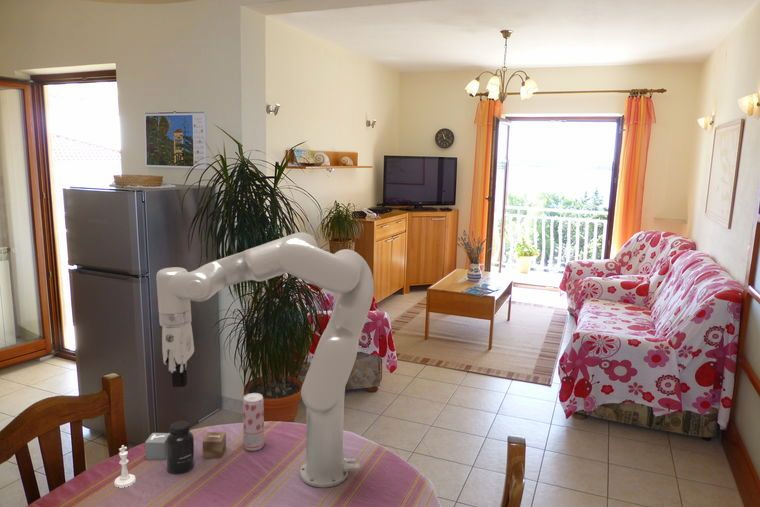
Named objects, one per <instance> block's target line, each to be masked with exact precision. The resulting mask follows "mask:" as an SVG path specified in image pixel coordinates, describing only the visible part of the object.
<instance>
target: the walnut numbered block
mask: <svg viewBox="0 0 760 507" xmlns="http://www.w3.org/2000/svg"><path fill="white" fill-rule="evenodd" d="M226 435H227V433H226V432H223V431H222V432H221V431H217V432H215V431H207V433H206V435H204V436H205V437H204V438H203V440H202V459H222V458H223V456H224V454H225V452H226V450H227V438H226V437H227V436H226Z"/></svg>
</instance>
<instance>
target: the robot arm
mask: <svg viewBox="0 0 760 507" xmlns="http://www.w3.org/2000/svg"><path fill="white" fill-rule="evenodd" d="M284 274H289V275H291V276H293V277H295V278H298V279H299V280H302V281H303V282H306V283H309V284H312V285H314V286H316V287H318V288H320V289H323V290H325V291H328V292H331V293H334V294H338V296H337V298H336V301H335V305H334V307H333V311H332V313H331V316H330V318H329V320H328V323H327V325H326V328H324V330H323V333H322V335H321V337H320V339H319V341H318V344H317V346H316V349H315V351H314V354H313V357H312V359H311V362H310V364H309V366H308V367H309V368H308V370H307V372H306V375H305V377H304V378H305V379H304V381H303V383H302V385H301V392H300V396H301V400H302V403H303V404H304V406H305V407H306V424H305V426H306V427H305V428H306V429H305V430H306V434H305V436H306V437H305V438H306V439H305V440H306V441H305V442H306V444H305V445H306V448H305V449H306V450H305V451H306V453H305V455H306V456H305V457H306V458H305V460H306V461H305V462H304V463H303V464H302V465H301V467H300V469H299V470H300V471H299V476H300V479H301V480H302V481H303V482H304V483H306V484H307V485H309V486H312V487H316V488H330V487H331V488H332V487H335V486H337V485H340V484H341V483H342V482H345V480H346V479H347V478H348V476H349V471H353V472H360V465H361V464H360V462H356V458H347V457H345V452H344V451H343V450H344V420H345V419H344V418H345V417H344V415H345V410H344V409H345V393H346V389H345V388H346V385H347V383H348V381H349V379H350V378H349V377H350V375H351V373H352V370H353V368H354V365H355V362H356V358H357V356H358V355H357V354H358V350H359V343H360V337H361V334H362V332H363V329H364V328H365V327H364V326H365V324H366V321H367V318H368V315H369V312H370V309H371V306H372V303H373V299H374V292H375V291H374V290H375V289H374V288H375V287H374V286H375V285H374V284H375V283H374V278H373V274H372V270H371V268H370V265H369V264H368V263H367V261H366V260H365V259H364V258H363V256H362V255H360V254H359V253H358V252H356V251H355V250H352V249H349V248H347V249H344V248H343V249H340V250H338V251H336V252H334V253H332V252H329V251H327V250H324V249H322V248H320V247H319V246H318V243H317V241H316V239H315V238H314V237H313V235H311V234H309V233H308V232H304V231H303V232H302V231H301V232H296V233H292V234H289V235H286V236H283V237H281V238H278V239H274V240H272V241H268V242H265V243H262V244H260V245H257V246H253V247H251V248H248V249H245V250H244V251H241V252H237V253H234V254H230V255H228V256H226V257H225V256H224V257H223V258H222V257H221V258H220V259H216V260H213V261H210V262H208V263H206V264H203V265H202V266H200V267H198V268H196V269H194V270H192V271H188V269H186V268H184V267H178V266H175V267H165V268H162V269H159V270H158V271H157V272H156V274H155V275H156V291H157V294H156V295H157V303H158V306H157V307H158V316H159V317H158V318H159V326H160V327H162V328H161V329H162V330H161V332H162V333H161V336H162V337H161V343H162V345H161V348H162V359H163V360H162V361H163V364H164V365H166V366H167V365H168V371H169V372H170V373H171V378H172V379H171V381H172V387H173V388H185V387H186V386H187V384H188V373H187V364H188V363H187V362H188V360H190V358H191V357H192V356H193V354H194V352H195V343H194V334H193V327H192V308H191V307H192V306H191V301H193V302H204V301H208V300H209V299H210V298H211V297H213V296H214V295H215V294H216V293H218V292H219V291H220V290H222V289H225V288H227V287H230V286H233V285H236V284H239V283H243V282H247V281H255V282H264V281H267V280H270V279H272V278H275V277H278V276H282V275H284ZM347 475H348V476H347ZM346 477H347V478H346Z"/></svg>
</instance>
